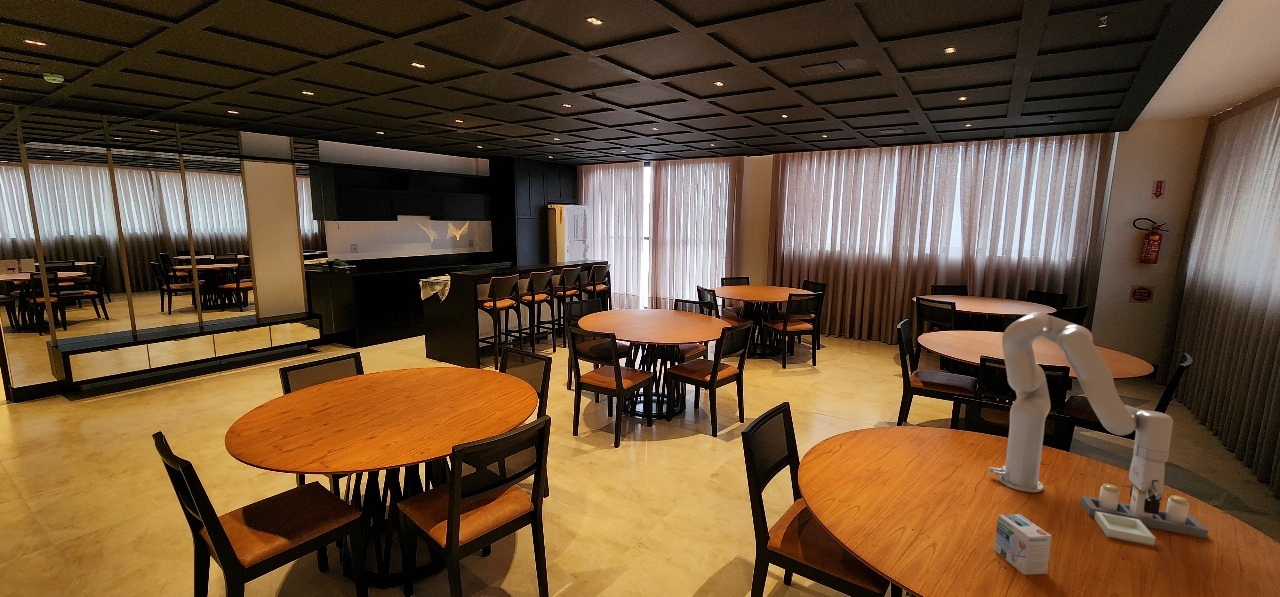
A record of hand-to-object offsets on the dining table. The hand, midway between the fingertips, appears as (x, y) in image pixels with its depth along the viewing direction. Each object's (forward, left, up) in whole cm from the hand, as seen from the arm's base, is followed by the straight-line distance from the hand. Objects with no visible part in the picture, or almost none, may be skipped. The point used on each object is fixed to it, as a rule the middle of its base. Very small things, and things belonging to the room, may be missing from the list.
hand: (1143, 505), depth 159 cm
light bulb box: (-39, -41, -5) cm, 57 cm away
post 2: (+8, 0, -5) cm, 9 cm away
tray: (-8, -11, -5) cm, 14 cm away
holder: (0, 0, -5) cm, 5 cm away
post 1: (-8, 0, -5) cm, 10 cm away
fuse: (0, 0, -5) cm, 5 cm away
